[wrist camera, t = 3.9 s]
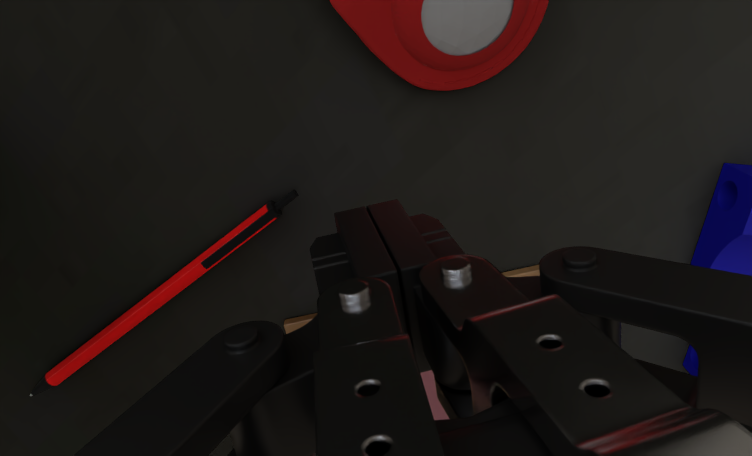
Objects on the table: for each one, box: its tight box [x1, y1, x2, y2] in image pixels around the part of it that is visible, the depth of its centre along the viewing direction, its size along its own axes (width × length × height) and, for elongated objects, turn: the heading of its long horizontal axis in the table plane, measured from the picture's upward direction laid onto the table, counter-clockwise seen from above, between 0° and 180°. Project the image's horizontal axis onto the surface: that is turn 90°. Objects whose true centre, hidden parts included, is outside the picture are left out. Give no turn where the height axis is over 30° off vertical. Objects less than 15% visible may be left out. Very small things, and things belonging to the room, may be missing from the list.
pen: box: [30, 190, 298, 396], centre depth 31 cm, size 1×19×1 cm, turn 128°
